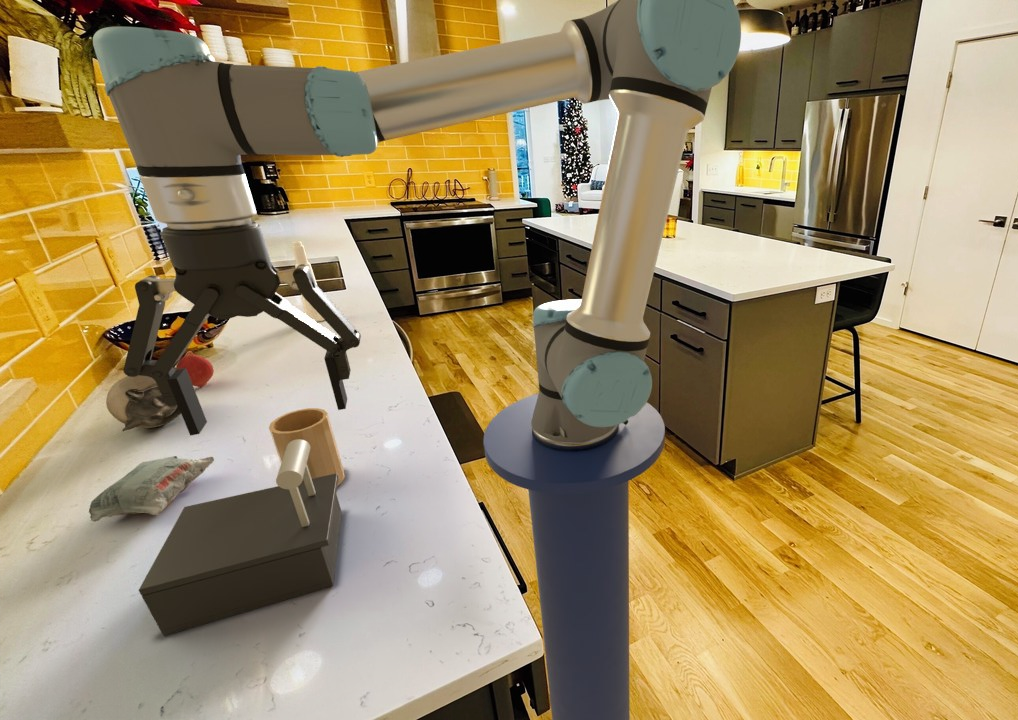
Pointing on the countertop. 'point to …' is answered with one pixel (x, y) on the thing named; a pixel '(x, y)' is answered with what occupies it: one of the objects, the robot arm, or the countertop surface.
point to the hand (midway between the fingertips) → (274, 416)
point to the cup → (309, 440)
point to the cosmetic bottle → (302, 259)
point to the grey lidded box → (246, 587)
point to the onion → (196, 368)
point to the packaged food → (148, 487)
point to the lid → (248, 526)
